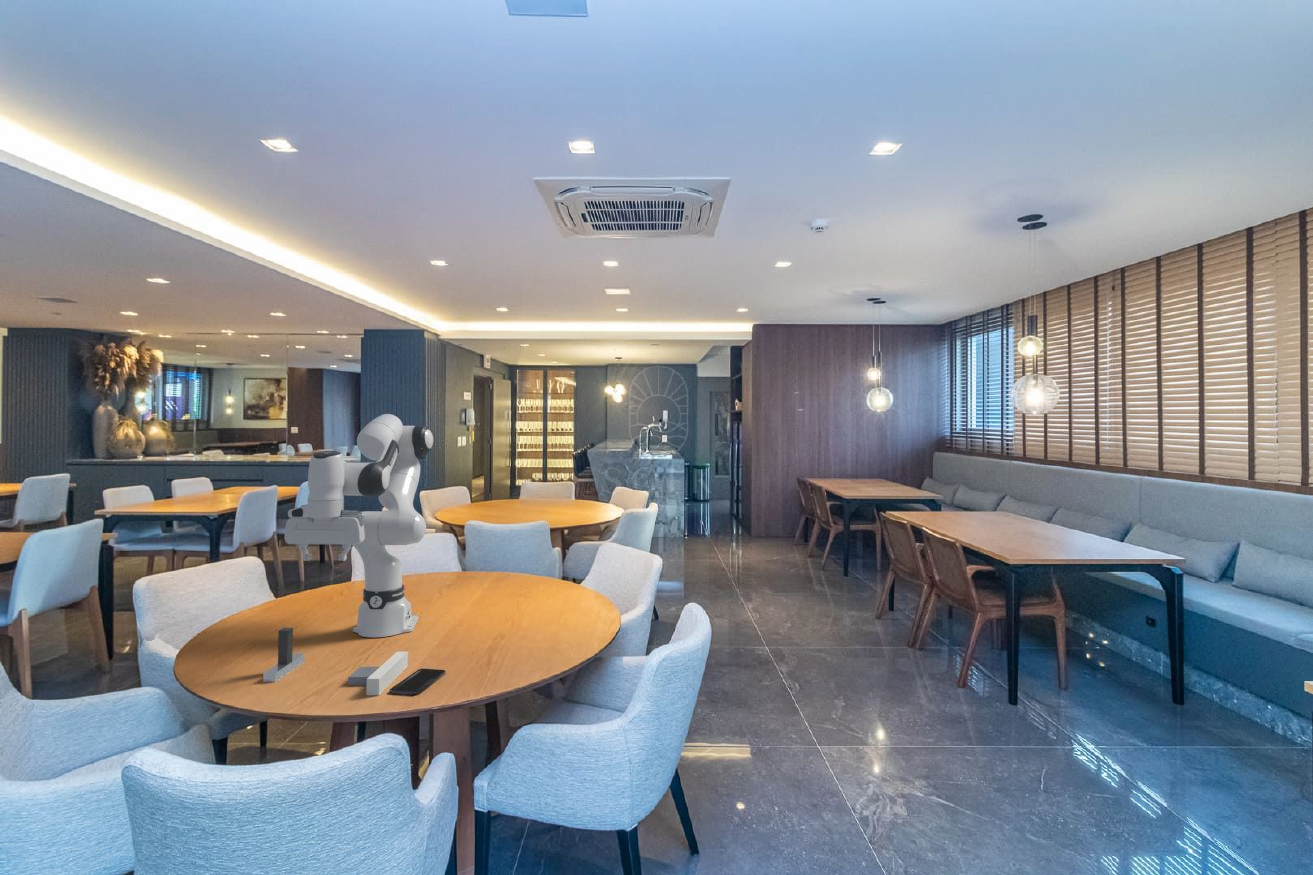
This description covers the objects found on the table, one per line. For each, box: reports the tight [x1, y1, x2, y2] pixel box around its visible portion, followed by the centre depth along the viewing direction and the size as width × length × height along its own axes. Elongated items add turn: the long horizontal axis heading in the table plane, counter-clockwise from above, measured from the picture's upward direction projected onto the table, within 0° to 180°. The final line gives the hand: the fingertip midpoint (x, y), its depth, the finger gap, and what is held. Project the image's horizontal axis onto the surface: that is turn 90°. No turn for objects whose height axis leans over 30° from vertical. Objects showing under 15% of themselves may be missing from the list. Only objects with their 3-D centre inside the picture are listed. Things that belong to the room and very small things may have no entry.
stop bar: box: [366, 651, 409, 696], centre depth 155 cm, size 19×3×4 cm, turn 3°
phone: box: [389, 668, 447, 697], centre depth 154 cm, size 8×1×15 cm
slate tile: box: [347, 666, 380, 686], centre depth 155 cm, size 7×7×2 cm
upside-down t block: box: [262, 627, 306, 683], centre depth 160 cm, size 14×3×12 cm, turn 3°
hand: (324, 560), depth 164 cm, fingers open, 8 cm apart
